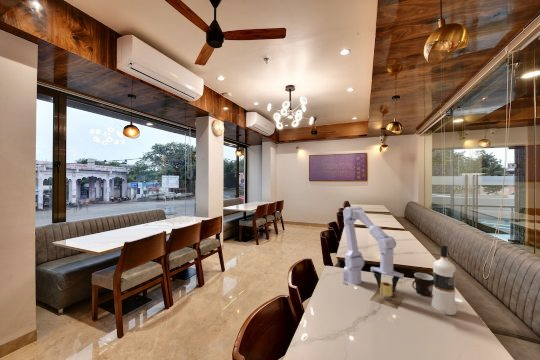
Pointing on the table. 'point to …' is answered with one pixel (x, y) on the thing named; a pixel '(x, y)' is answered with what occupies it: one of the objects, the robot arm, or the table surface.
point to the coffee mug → (423, 284)
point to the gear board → (388, 299)
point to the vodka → (444, 284)
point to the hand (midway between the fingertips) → (386, 289)
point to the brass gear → (386, 289)
